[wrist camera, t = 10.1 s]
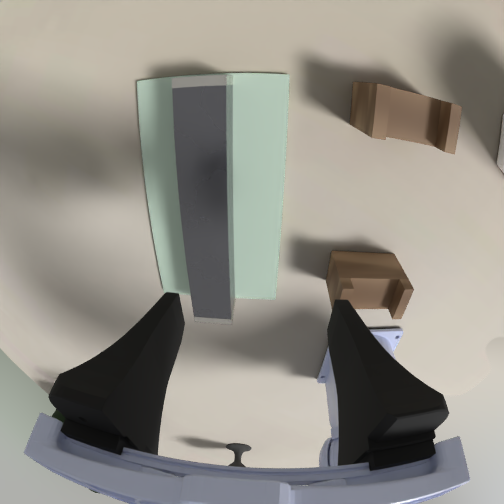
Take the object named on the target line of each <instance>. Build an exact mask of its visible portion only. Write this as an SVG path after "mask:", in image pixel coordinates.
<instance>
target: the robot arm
mask: <svg viewBox="0 0 504 504" xmlns="http://www.w3.org/2000/svg"><path fill="white" fill-rule="evenodd" d="M184 325H185V322H184V317H183V312H182V307H181V302H180V297H179V293H173V292H166V293H165V294H164V295H163V296H162V297H161V298H160V299H159V300H158V302H157V303H156V304H155V305H154V306H153V307H152V308H151V309H150V310H149V311H148V312H147V313H146V314H145V315H144V317H143V318H142V319H141V320H140V321H139V322H138V323H137V324H136V325H135V326H134V327H132V328H131V329H130V330H129V331H128V332H127V333H126V334H125V335H124V336H123V337H121V338H120V339H119V340H118V341H117V342H115V343H114V344H113V345H111V346H110V347H109V348H107V349H106V350H104V351H103V352H101V353H100V354H98V355H97V356H95V357H94V358H92V359H90V360H88V361H87V362H85V363H83V364H81V365H79V366H77V367H75V368H73V369H71V370H68V371H66V372H64V373H61V374H59V376H58V378H57V380H56V381H55V383H54V386H53V388H52V390H51V392H50V394H49V399H50V402H51V403H52V404H53V406H54V407H55V408H56V409H57V410H58V411H59V412H60V413H61V414H62V415H63V416H64V417H65V421H64V423H63V422H61V421H60V420H58V419H56V418H53V417H51V416H48V415H46V414H44V413H40V415H39V417H38V419H37V422H36V424H35V426H34V428H33V431H32V433H31V436H30V438H29V440H28V443H27V446H26V449H25V451H24V453H25V454H26V455H27V456H28V457H30V458H31V459H33V460H34V461H36V462H38V463H39V464H41V465H42V466H44V467H45V468H47V469H48V470H50V471H52V472H54V473H56V474H58V475H60V476H62V477H64V478H66V479H68V480H71V481H73V482H75V483H77V484H79V485H82V486H84V487H87V488H89V489H91V490H94V491H96V492H99V493H101V494H104V495H107V496H110V497H112V498H115V499H117V500H121V501H124V502H127V503H129V504H417V503H421V502H424V501H427V500H430V499H432V498H436V497H438V496H441V495H443V494H445V493H447V492H450V491H452V490H454V489H456V488H458V487H460V486H461V485H464V484H465V483H467V482H469V481H470V477H469V472H468V468H467V464H466V459H465V455H464V451H463V447H462V444H461V440H460V437H459V436H457V437H454V438H451V439H448V440H445V441H441V442H438V443H436V444H435V445H434V443H433V439H434V438H435V432H434V430H435V429H436V428H437V427H438V426H439V425H441V424H442V423H443V422H444V421H445V419H446V418H447V417H448V414H449V411H448V408H447V405H446V401H445V399H444V396H443V394H441V393H439V392H437V391H436V390H434V389H432V388H431V387H429V386H428V385H426V384H425V383H423V382H422V381H420V380H419V379H418V378H416V377H415V376H414V375H412V374H411V373H410V372H409V371H407V370H406V369H405V368H404V367H403V366H402V365H400V364H399V363H398V362H397V361H396V359H395V356H394V353H393V352H394V350H395V348H396V346H397V344H398V342H399V340H400V338H401V336H402V335H403V330H402V329H400V328H399V329H373V330H369V329H368V328H367V326H366V325H365V323H364V322H363V321H362V319H361V318H360V316H359V315H358V314H357V312H356V311H355V309H354V308H353V306H352V305H351V303H350V302H349V301H348V300H343V299H335V302H334V306H333V310H332V314H331V318H330V322H329V326H328V329H327V332H328V348H327V351H326V355H325V358H324V361H323V364H322V367H321V370H320V373H319V375H318V378H317V382H318V383H325V384H326V393H327V402H328V412H329V421H330V425H331V427H332V428H331V436H332V438H328V439H327V440H326V441H325V442H324V444H323V447H322V448H321V451H320V456H319V467H316V468H249V467H234V466H223V465H214V464H206V463H198V462H191V461H185V460H179V459H174V458H168V457H163V456H158V444H159V433H160V425H161V417H162V411H163V405H164V399H165V394H166V389H167V385H168V381H169V378H170V375H171V372H172V368H173V365H174V362H175V359H176V356H177V353H178V350H179V347H180V344H181V340H182V336H183V331H184ZM176 476H178V477H176ZM297 485H308V486H297Z"/></svg>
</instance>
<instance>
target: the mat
mask: <svg viewBox="0 0 504 504" xmlns="http://www.w3.org/2000/svg"><path fill="white" fill-rule="evenodd" d="M209 75H230V76H233V223H234V274H235V298H248V299H271V300H275V298H276V286H277V274H278V262H279V250H280V237H281V223H282V209H283V194H284V178H285V161H286V143H287V123H288V100H289V75H288V74H267V73H218V74H198V75H184V76H174V77H164V78H156V79H148V80H141V81H137V94H138V112H139V126H140V139H141V149H142V159H143V168H144V177H145V185H146V193H147V200H148V207H149V214H150V220H151V226H152V233H153V238H154V244H155V250H156V255H157V261H158V266H159V271H160V276H161V281H162V285H163V290H164V293H166V292H173V293H179V294H184V295H191V293H190V286H189V279H188V272H187V265H186V257H185V249H184V241H183V232H182V223H181V214H180V204H179V193H178V182H177V169H176V156H175V140H174V121H173V96H172V78H180V77H192V76H209Z"/></svg>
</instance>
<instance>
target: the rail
mask: <svg viewBox="0 0 504 504" xmlns="http://www.w3.org/2000/svg"><path fill="white" fill-rule="evenodd" d="M172 96H173V121H174V140H175V156H176V169H177V182H178V193H179V204H180V214H181V223H182V232H183V241H184V249H185V257H186V265H187V272H188V279H189V286H190V293H191V300H192V306H193V313H194V321H195V322H202V323H215V324H230V325H232V320H233V313H234V306H235V274H234V223H233V76H230V75H209V76H192V77H180V78H172Z"/></svg>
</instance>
